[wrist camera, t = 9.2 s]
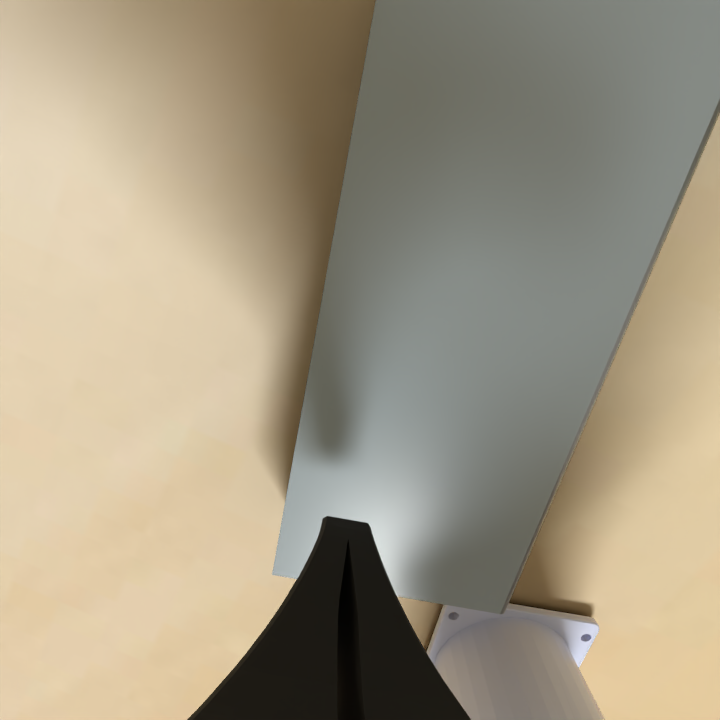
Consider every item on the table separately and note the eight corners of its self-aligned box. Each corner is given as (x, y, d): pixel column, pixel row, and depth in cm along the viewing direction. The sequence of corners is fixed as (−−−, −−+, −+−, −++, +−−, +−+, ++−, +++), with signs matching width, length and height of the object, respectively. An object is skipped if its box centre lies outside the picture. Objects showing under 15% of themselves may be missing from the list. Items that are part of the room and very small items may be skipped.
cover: (501, 601, 16) (507, 615, 15) (275, 562, 15) (272, 574, 15) (752, 9, 10) (776, -5, 9) (393, -86, 9) (395, -108, 9)
